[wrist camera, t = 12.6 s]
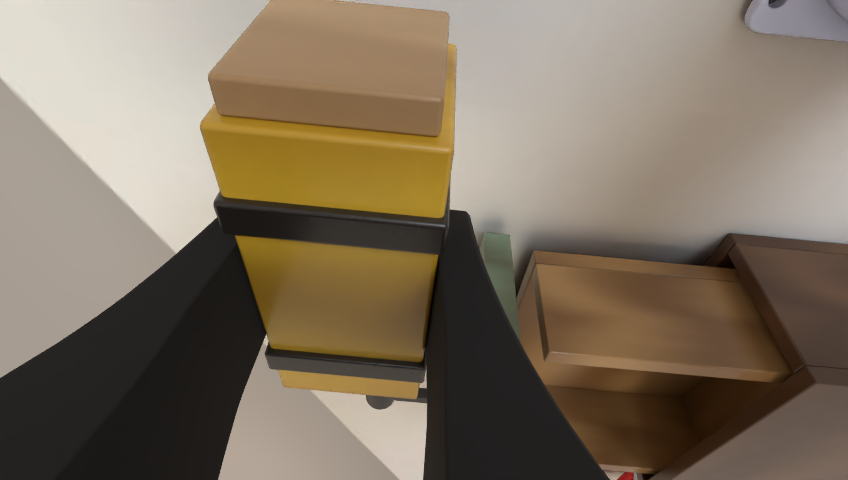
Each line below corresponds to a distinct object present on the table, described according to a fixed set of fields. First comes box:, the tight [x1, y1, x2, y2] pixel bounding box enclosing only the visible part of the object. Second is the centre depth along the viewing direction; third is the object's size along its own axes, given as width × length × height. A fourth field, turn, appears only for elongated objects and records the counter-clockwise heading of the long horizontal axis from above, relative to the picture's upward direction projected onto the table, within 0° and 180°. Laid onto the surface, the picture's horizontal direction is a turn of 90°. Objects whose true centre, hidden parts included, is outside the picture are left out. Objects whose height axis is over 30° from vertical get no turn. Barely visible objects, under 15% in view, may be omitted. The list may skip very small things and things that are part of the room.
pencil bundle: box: [200, 0, 457, 399], centre depth 10 cm, size 8×4×4 cm, turn 176°
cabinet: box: [636, 234, 848, 480], centre depth 24 cm, size 16×14×7 cm
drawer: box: [366, 233, 795, 474], centre depth 23 cm, size 20×13×6 cm, turn 86°
